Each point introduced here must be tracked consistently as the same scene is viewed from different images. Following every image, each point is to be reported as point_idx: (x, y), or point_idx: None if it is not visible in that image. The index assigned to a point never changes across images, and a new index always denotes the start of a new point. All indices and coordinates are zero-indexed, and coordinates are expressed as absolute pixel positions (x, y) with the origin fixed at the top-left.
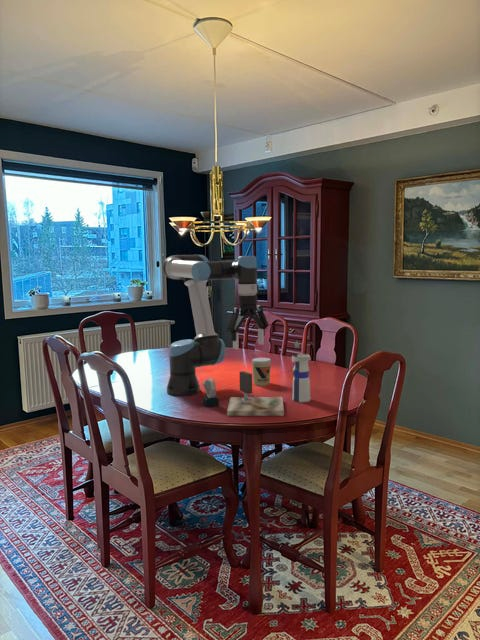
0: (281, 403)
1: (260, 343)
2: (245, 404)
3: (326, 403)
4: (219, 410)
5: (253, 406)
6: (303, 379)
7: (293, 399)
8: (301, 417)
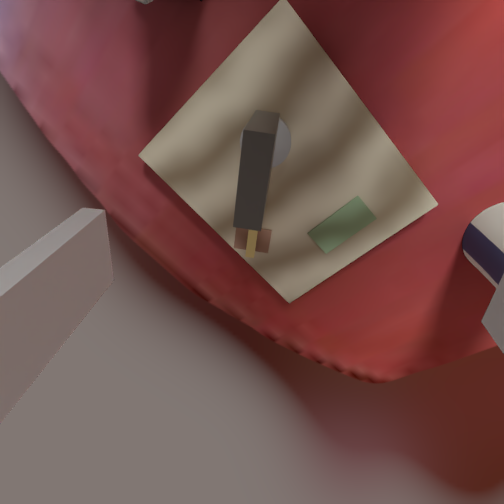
0: (353, 254)
1: (501, 300)
2: None
3: None
4: (158, 70)
5: None
6: None
7: (472, 224)
8: (311, 335)
